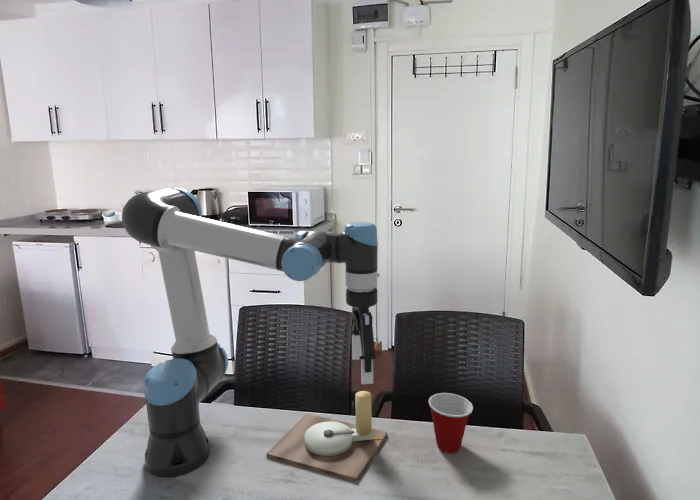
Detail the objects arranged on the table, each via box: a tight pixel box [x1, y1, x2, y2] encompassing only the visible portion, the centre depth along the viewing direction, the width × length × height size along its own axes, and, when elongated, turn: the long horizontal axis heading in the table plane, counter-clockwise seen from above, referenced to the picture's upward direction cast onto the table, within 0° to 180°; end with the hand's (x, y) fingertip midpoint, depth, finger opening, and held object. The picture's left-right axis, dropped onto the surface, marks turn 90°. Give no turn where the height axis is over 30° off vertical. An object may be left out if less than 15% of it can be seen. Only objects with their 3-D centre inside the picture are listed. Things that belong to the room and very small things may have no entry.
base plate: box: [265, 413, 388, 483], centre depth 127 cm, size 24×20×1 cm
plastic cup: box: [428, 392, 474, 454], centre depth 125 cm, size 11×11×12 cm
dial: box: [305, 390, 373, 456], centre depth 126 cm, size 17×12×12 cm
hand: (362, 370), depth 125 cm, fingers open, 13 cm apart
